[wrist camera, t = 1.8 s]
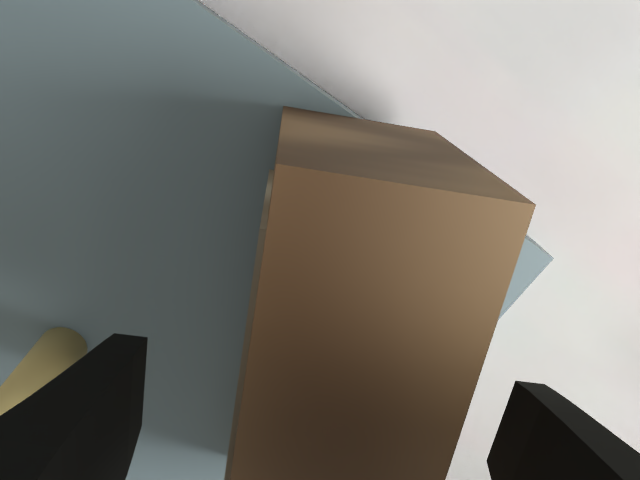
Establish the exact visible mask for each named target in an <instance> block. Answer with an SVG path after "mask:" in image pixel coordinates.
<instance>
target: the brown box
mask: <svg viewBox="0 0 640 480" xmlns="http://www.w3.org/2000/svg"><path fill="white" fill-rule="evenodd" d="M535 206H536V205H535V204H534V203H533V202H531V201H530V200H529V199H527V198H526V197H524V196H523V195H522V194H520V193H519V192H518V191H516V190H515V189H513V188H512V187H511V186H509V185H508V184H507V183H505V182H504V181H503V180H501V179H500V178H498V177H497V176H496V175H494V174H493V173H492V172H490V171H489V170H487V169H486V168H485V167H483V166H482V165H481V164H479V163H478V162H476V161H475V160H474V159H472V158H471V157H470V156H468V155H467V154H465V153H464V152H463V151H461V150H460V149H459V148H457V147H456V146H455V145H453V144H452V143H450V142H449V141H448V140H446V139H445V138H444V137H442V136H441V135H439V134H438V133H437V132H435V131H429V130H424V129H418V128H412V127H406V126H400V125H394V124H388V123H382V122H376V121H370V120H365V119H359V118H353V117H347V116H341V115H335V114H329V113H323V112H317V111H312V110H306V109H300V108H294V107H288V106H283V111H282V118H281V125H280V132H279V139H278V146H277V153H276V159H275V166H274V170H270V169H269V175H268V181H267V187H266V193H265V199H264V205H263V211H262V217H261V223H260V229H259V236H258V243H257V250H256V257H255V264H254V271H253V279H252V286H251V293H250V300H249V307H248V314H247V321H246V328H245V335H244V342H243V349H242V356H241V363H240V370H239V377H238V385H237V392H236V399H235V406H234V413H233V420H232V427H231V434H230V441H229V448H228V455H227V462H226V469H225V476H224V480H445V479H446V476H447V473H448V470H449V467H450V464H451V461H452V457H453V454H454V451H455V448H456V445H457V442H458V439H459V436H460V433H461V430H462V427H463V424H464V421H465V418H466V415H467V412H468V409H469V406H470V403H471V400H472V397H473V394H474V391H475V388H476V385H477V382H478V379H479V376H480V373H481V370H482V367H483V363H484V360H485V357H486V354H487V351H488V348H489V345H490V342H491V339H492V336H493V333H494V330H495V327H496V324H497V321H498V318H499V315H500V312H501V309H502V306H503V303H504V300H505V297H506V294H507V291H508V288H509V285H510V282H511V279H512V276H513V273H514V269H515V266H516V263H517V260H518V257H519V254H520V251H521V248H522V245H523V242H524V239H525V236H526V233H527V230H528V227H529V224H530V221H531V218H532V215H533V212H534V209H535Z"/></svg>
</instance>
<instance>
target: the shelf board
mask: <svg viewBox="0 0 640 480" xmlns="http://www.w3.org/2000/svg"><path fill="white" fill-rule="evenodd" d="M283 106H288V107H294V108H300V109H306V110H312V111H317V112H323V113H329V114H335V115H341V116H347V117H353V118H359V119H363V118H361V117H360V116H359V115H357V114H356V113H354V112H353V111H352V110H350V109H349V108H347V107H346V106H345V105H343V104H342V103H340V102H339V101H338V100H336V99H335V98H333V97H332V96H331V95H329V94H328V93H326V92H325V91H324V90H322V89H321V88H319V87H318V86H317V85H315V84H314V83H312V82H311V81H310V80H308V79H307V78H305V77H304V76H303V75H301V74H300V73H298V72H297V71H296V70H294V69H293V68H291V67H290V66H289V65H287V64H286V63H284V62H283V61H282V60H280V59H279V58H278V57H276V56H275V55H273V54H272V53H271V52H269V51H268V50H266V49H265V48H264V47H262V46H261V45H259V44H258V43H257V42H255V41H254V40H252V39H251V38H250V37H248V36H247V35H245V34H244V33H243V32H241V31H240V30H238V29H237V28H236V27H234V26H233V25H231V24H230V23H229V22H227V21H226V20H224V19H223V18H222V17H220V16H219V15H217V14H216V13H215V12H213V11H212V10H210V9H209V8H208V7H206V6H205V5H203V4H202V3H201V2H199V1H198V0H0V415H2V414H3V413H5V412H6V411H8V410H9V409H11V408H13V407H14V406H16V405H17V404H19V403H20V402H22V401H23V400H25V399H26V398H27V397H29V396H30V395H32V394H33V393H34V392H36V391H37V390H39V389H40V388H41V387H43V386H44V385H45V384H47V383H48V382H50V381H51V380H52V379H54V378H55V377H57V376H58V375H59V374H61V373H62V372H63V371H65V370H66V369H67V368H69V367H70V366H71V365H73V364H74V363H75V362H77V361H78V360H79V359H80V358H82V357H83V356H84V355H86V354H87V353H88V352H89V351H91V350H92V349H93V348H95V347H96V346H97V345H99V344H100V343H101V342H103V341H104V340H105V339H107V338H108V337H109V336H111V335H112V334H114V333H117V334H125V335H134V336H142V337H148V341H147V356H146V371H145V386H144V401H143V415H142V427H141V430H140V434H139V437H138V441H137V444H136V447H135V451H134V454H133V457H132V461H131V464H130V467H129V470H128V474H127V477H126V479H125V480H224V476H225V469H226V462H227V455H228V448H229V441H230V434H231V427H232V420H233V413H234V406H235V399H236V392H237V385H238V377H239V370H240V363H241V356H242V349H243V342H244V335H245V328H246V321H247V314H248V307H249V300H250V293H251V286H252V279H253V271H254V264H255V257H256V250H257V243H258V236H259V229H260V223H261V217H262V211H263V205H264V199H265V193H266V187H267V181H268V175H269V169H270V170H274V166H275V159H276V153H277V146H278V139H279V132H280V125H281V118H282V111H283ZM553 259H554V258H553V257H552V256H550V255H549V254H548V253H547V252H546V251H545V250H544V249H543V248H541V247H540V246H539V245H538V244H537V243H536V242H535V241H533V240H532V239H531V238H529V237H528V236H525V239H524V242H523V245H522V248H521V251H520V254H519V257H518V260H517V263H516V266H515V269H514V273H513V276H512V279H511V282H510V285H509V288H508V291H507V294H506V297H505V300H504V303H503V306H502V309H501V312H500V315H499V318H500V317H501V316H502V315H503V314H504V313H505V312H506V311H507V310H508V309H509V307H510V306H511V305H512V304H513V303H514V302H515V301H516V300H517V299H518V297H519V296H520V295H521V294H522V293H523V292H524V291H525V290H526V289H527V287H528V286H529V285H530V284H531V283H532V282H533V281H534V280H535V279H536V277H537V276H538V275H539V274H540V273H541V272H542V271H543V270H544V269H545V267H546V266H547V265H548V264H549V263H550V262H551V261H552V260H553ZM499 318H498V320H499Z"/></svg>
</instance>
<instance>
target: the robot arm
mask: <svg viewBox="0 0 640 480" xmlns="http://www.w3.org/2000/svg"><path fill="white" fill-rule="evenodd" d="M147 341H148V337H142V336H134V335H125V334H117V333H114V334H112V335H111V336H109V337H108V338H107V339H105V340H104V341H103V342H101V343H100V344H99V345H97V346H96V347H95V348H93V349H92V350H91V351H89V352H88V353H87V354H86V355H84V356H83V357H82V358H80V359H79V360H78V361H77V362H75V363H74V364H73V365H71V366H70V367H69V368H67V369H66V370H65V371H63V372H62V373H61V374H59V375H58V376H57V377H55V378H54V379H52V380H51V381H50V382H48V383H47V384H45V385H44V386H43V387H41V388H40V389H39V390H37V391H36V392H34V393H33V394H32V395H30V396H29V397H27V398H26V399H25V400H23V401H22V402H20V403H19V404H17V405H16V406H14V407H13V408H11V409H9V410H8V411H6V412H5V413H3V414H2V415H0V480H125V479H126V477H127V474H128V470H129V467H130V464H131V461H132V457H133V454H134V451H135V447H136V444H137V441H138V437H139V434H140V430H141V427H142V415H143V401H144V386H145V371H146V356H147ZM487 464H488V468H489V472H490V476H491V480H640V453H638V452H637V451H636V450H634V449H633V448H632V447H630V446H629V445H628V444H626V443H625V442H624V441H622V440H621V439H620V438H618V437H617V436H616V435H614V434H613V433H612V432H610V431H609V430H608V429H606V428H605V427H604V426H602V425H601V424H600V423H598V422H597V421H596V420H595V419H593V418H592V417H591V416H589V415H588V414H587V413H585V412H584V411H583V410H581V409H580V408H579V407H577V406H576V405H574V404H573V403H572V402H570V401H569V400H568V399H566V398H565V397H563V396H562V395H560V394H559V393H557V392H556V391H554V390H553V389H551V388H550V387H548V386H546V385H545V384H538V383H529V382H521V381H515V384H514V387H513V389H512V392H511V395H510V398H509V400H508V403H507V406H506V409H505V411H504V414H503V417H502V420H501V423H500V425H499V428H498V431H497V434H496V436H495V439H494V442H493V445H492V447H491V450H490V453H489V456H488V458H487Z"/></svg>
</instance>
